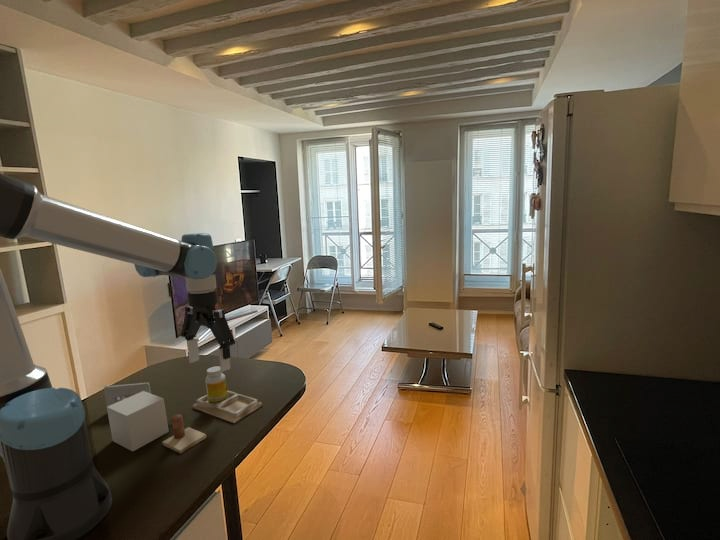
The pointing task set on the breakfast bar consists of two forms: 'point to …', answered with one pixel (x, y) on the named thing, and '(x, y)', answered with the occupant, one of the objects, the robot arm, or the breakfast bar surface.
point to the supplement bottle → (216, 386)
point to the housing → (137, 420)
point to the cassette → (123, 391)
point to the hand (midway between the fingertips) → (209, 365)
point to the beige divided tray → (229, 406)
